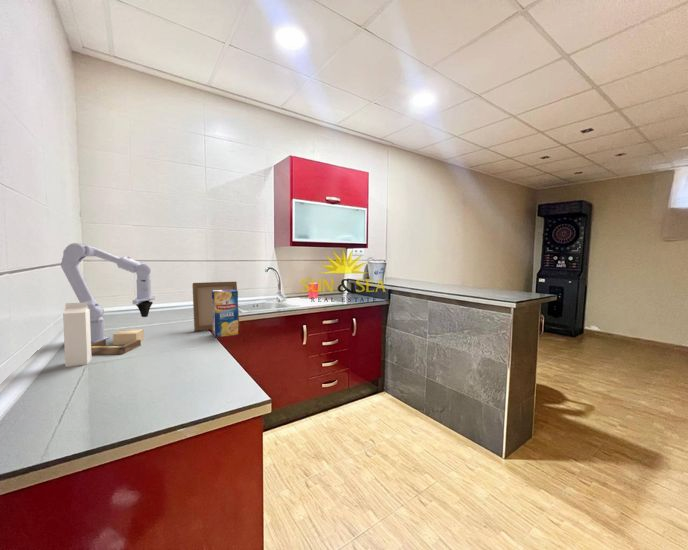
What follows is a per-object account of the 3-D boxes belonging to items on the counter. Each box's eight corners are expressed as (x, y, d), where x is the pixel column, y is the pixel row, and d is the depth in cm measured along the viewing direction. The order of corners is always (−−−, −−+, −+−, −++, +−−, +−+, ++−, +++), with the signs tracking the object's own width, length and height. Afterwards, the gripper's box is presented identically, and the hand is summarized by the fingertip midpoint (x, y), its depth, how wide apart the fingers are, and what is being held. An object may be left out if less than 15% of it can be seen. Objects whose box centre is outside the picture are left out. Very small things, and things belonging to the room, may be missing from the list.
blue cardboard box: (212, 334, 148) (211, 290, 147) (234, 331, 154) (234, 289, 153) (214, 337, 142) (214, 292, 141) (238, 334, 149) (238, 291, 147)
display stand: (80, 354, 116) (79, 347, 116) (102, 345, 127) (101, 339, 127) (122, 354, 117) (122, 347, 117) (140, 345, 128) (140, 339, 128)
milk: (87, 364, 106) (85, 303, 104) (64, 367, 103) (62, 304, 101) (91, 359, 111) (89, 301, 110) (70, 361, 108) (67, 302, 107)
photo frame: (239, 327, 162) (238, 282, 161) (195, 332, 151) (194, 283, 149) (233, 322, 175) (233, 280, 173) (192, 326, 163) (191, 281, 162)
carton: (113, 345, 129) (112, 333, 128) (122, 340, 135) (121, 329, 135) (136, 344, 130) (136, 333, 130) (143, 340, 137) (143, 329, 137)
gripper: (143, 290, 136) (144, 319, 137) (160, 287, 151) (161, 313, 152) (127, 290, 136) (128, 319, 137) (146, 287, 150) (147, 313, 151)
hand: (144, 316), depth 144 cm, fingers closed
